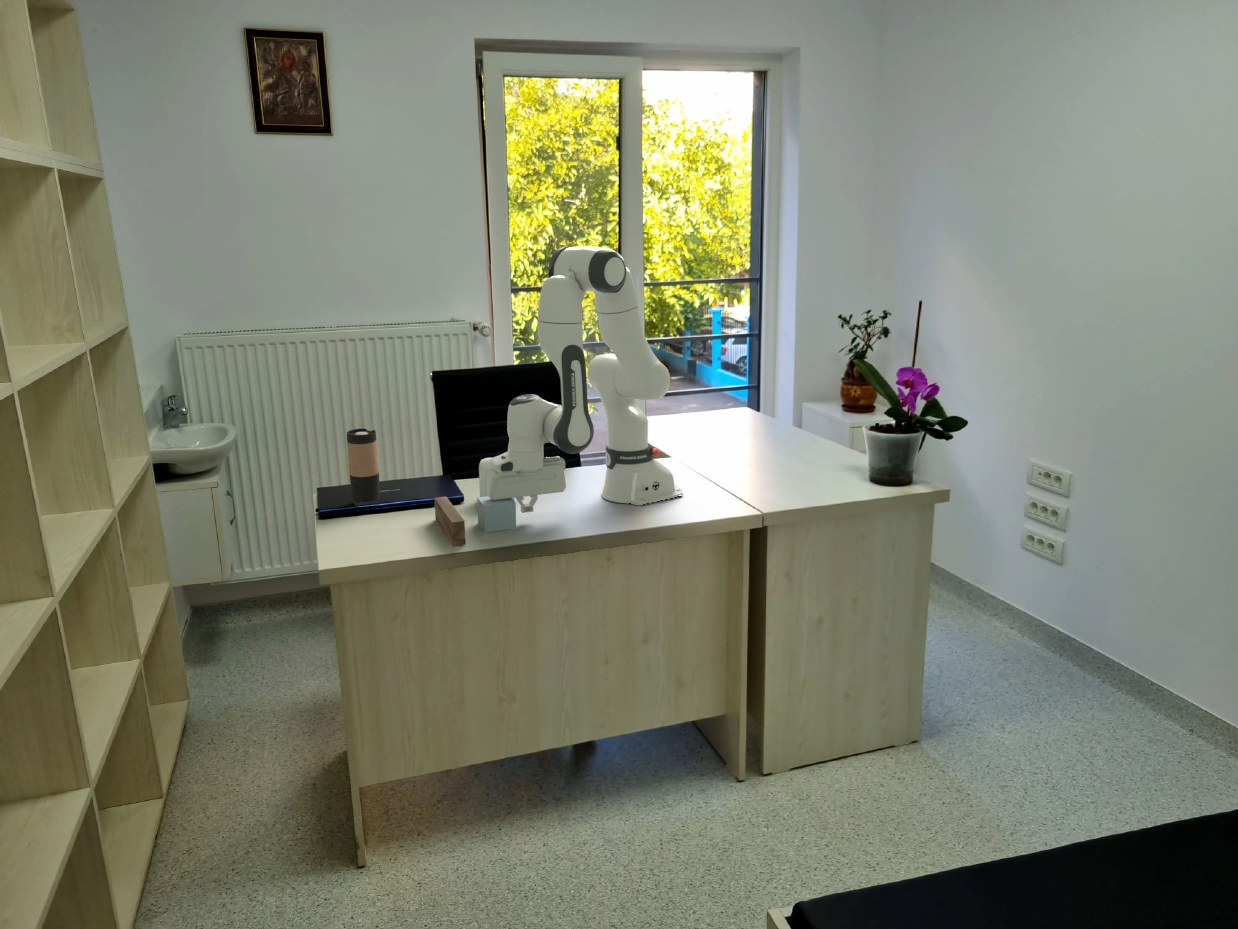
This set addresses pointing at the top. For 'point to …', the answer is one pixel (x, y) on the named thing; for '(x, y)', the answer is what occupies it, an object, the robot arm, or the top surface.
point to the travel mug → (363, 465)
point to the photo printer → (484, 475)
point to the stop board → (450, 521)
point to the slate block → (496, 514)
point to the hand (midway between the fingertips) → (527, 511)
